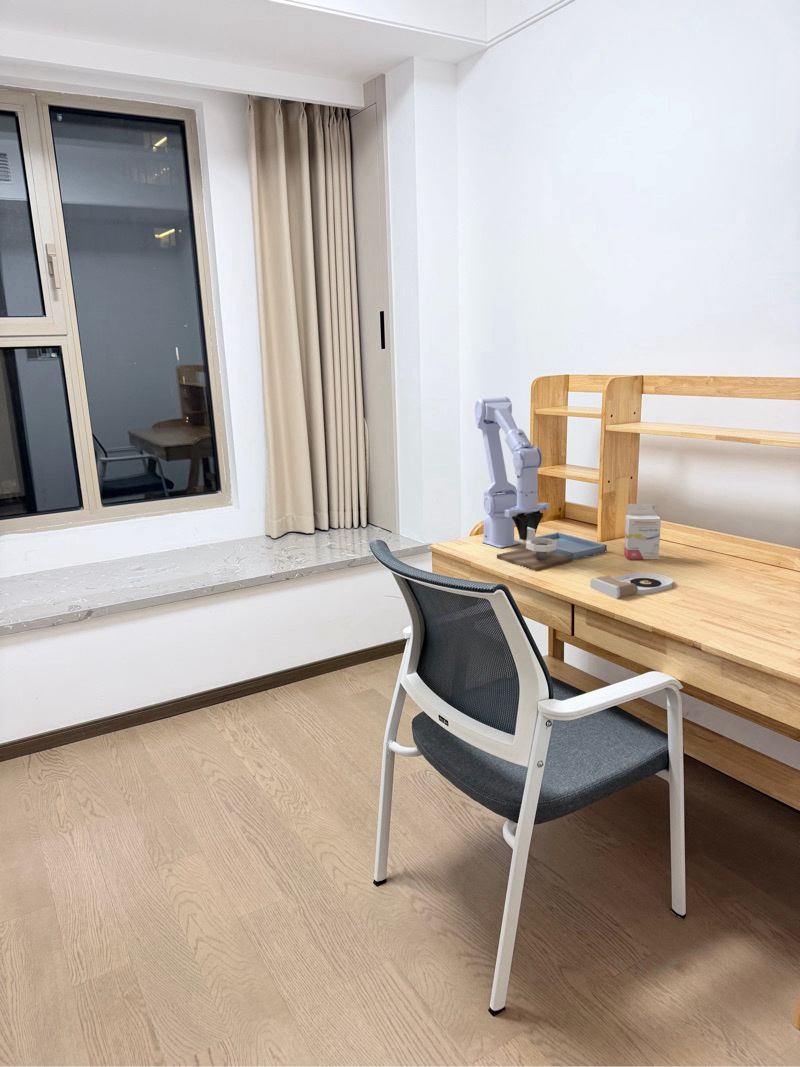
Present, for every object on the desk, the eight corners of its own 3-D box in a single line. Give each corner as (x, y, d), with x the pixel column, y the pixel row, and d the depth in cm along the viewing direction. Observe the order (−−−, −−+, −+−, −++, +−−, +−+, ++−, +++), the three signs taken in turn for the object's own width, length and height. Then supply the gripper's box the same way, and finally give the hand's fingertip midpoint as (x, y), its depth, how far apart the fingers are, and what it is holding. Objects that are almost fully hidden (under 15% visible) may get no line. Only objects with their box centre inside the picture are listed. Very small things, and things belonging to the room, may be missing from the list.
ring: (511, 543, 211) (511, 529, 210) (533, 538, 215) (533, 524, 214) (540, 553, 201) (540, 539, 200) (562, 548, 205) (563, 534, 204)
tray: (525, 545, 224) (525, 539, 224) (557, 538, 231) (557, 532, 230) (573, 560, 208) (573, 553, 207) (606, 551, 214) (606, 545, 214)
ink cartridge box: (627, 560, 206) (629, 507, 202) (623, 555, 210) (625, 504, 207) (659, 559, 205) (661, 507, 201) (655, 554, 209) (657, 503, 206)
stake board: (496, 558, 213) (496, 541, 212) (534, 549, 220) (534, 533, 219) (534, 570, 200) (534, 552, 198) (573, 561, 206) (573, 543, 205)
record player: (587, 576, 184) (648, 564, 193) (587, 588, 185) (647, 575, 193) (620, 589, 174) (683, 575, 183) (620, 602, 175) (682, 587, 183)
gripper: (516, 496, 201) (516, 545, 204) (556, 489, 208) (556, 536, 211) (499, 493, 206) (500, 540, 210) (539, 486, 214) (539, 532, 217)
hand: (527, 538), depth 211 cm, fingers closed on ring, 2 cm apart
